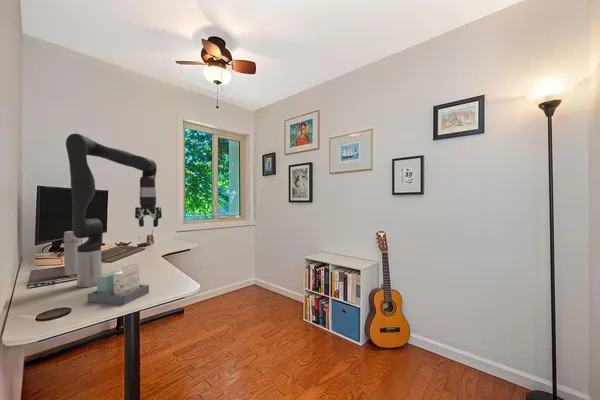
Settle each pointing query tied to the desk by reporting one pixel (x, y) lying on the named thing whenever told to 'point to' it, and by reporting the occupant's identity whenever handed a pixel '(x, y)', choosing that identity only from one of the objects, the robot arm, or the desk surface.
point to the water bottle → (71, 252)
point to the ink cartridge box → (126, 279)
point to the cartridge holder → (118, 296)
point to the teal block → (105, 283)
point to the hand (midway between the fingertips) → (148, 226)
